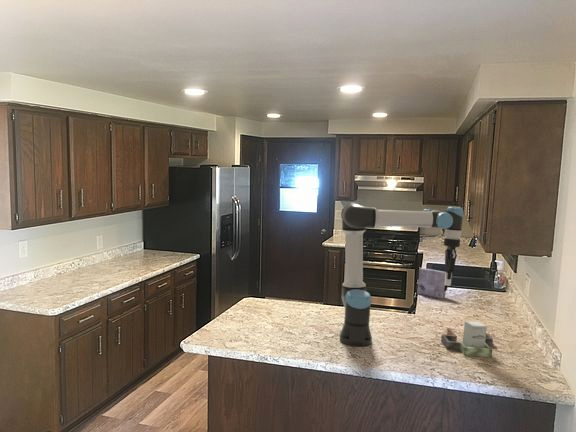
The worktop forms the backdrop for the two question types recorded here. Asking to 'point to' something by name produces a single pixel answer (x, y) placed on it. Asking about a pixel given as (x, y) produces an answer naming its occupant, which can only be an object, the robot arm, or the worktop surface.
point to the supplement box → (474, 334)
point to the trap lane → (452, 344)
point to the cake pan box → (432, 283)
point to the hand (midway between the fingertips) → (447, 285)
